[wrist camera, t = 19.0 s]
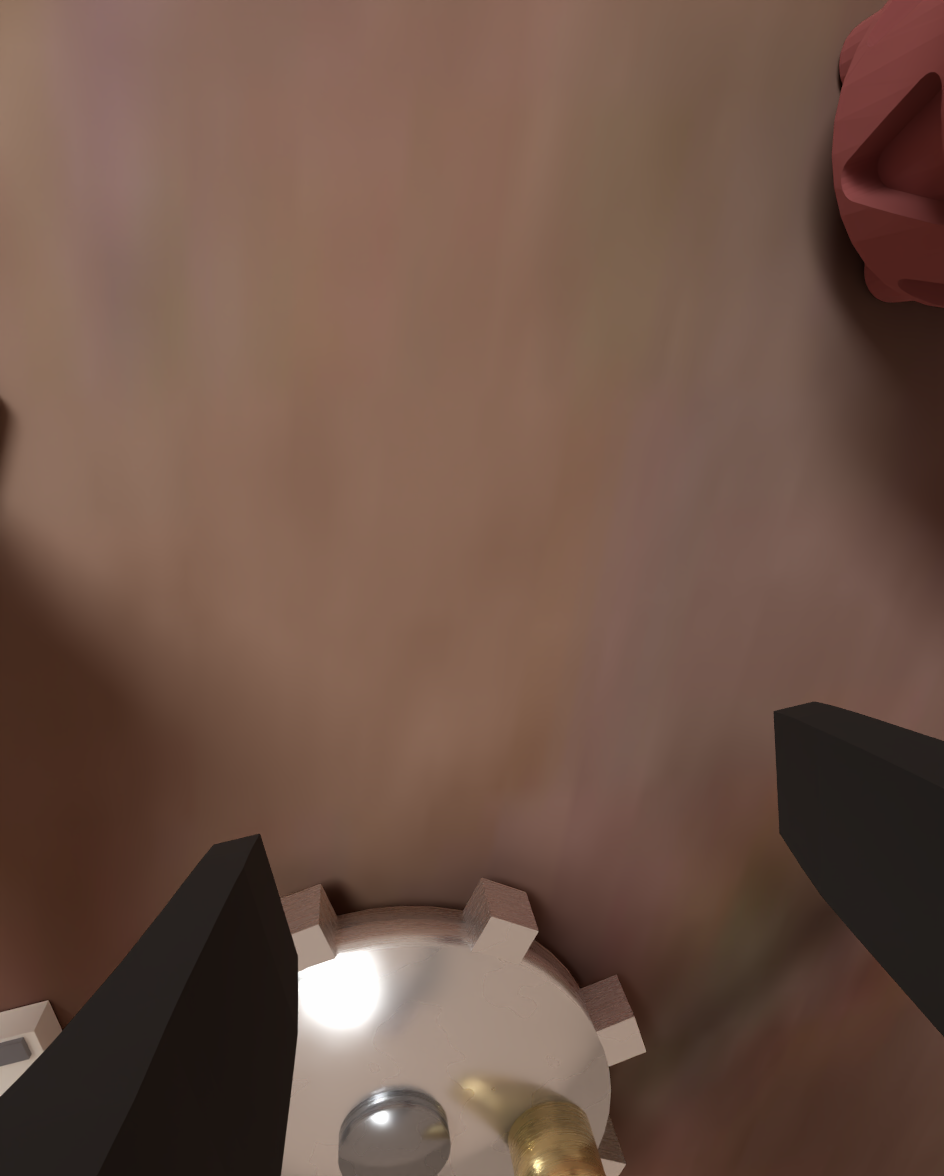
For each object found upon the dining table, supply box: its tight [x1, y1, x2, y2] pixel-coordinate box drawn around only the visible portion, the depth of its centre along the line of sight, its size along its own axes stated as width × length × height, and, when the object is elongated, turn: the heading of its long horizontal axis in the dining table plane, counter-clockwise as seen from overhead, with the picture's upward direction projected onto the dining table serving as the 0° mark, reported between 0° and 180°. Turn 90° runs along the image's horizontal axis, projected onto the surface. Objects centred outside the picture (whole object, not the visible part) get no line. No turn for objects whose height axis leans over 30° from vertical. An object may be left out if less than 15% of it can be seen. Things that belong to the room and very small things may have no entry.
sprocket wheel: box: [280, 878, 646, 1176], centre depth 20 cm, size 15×15×4 cm
